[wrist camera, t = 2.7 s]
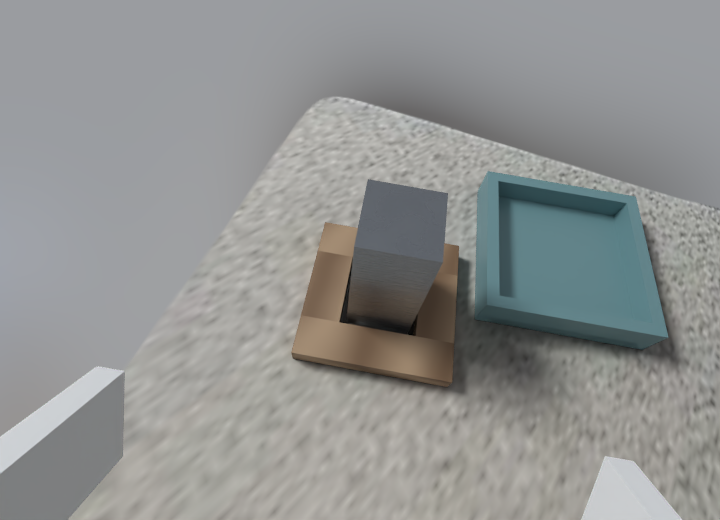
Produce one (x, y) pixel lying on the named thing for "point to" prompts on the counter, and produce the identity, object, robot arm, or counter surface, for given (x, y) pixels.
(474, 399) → the counter surface
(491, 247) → the tray
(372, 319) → the grey rectangular block
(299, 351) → the socket plate
